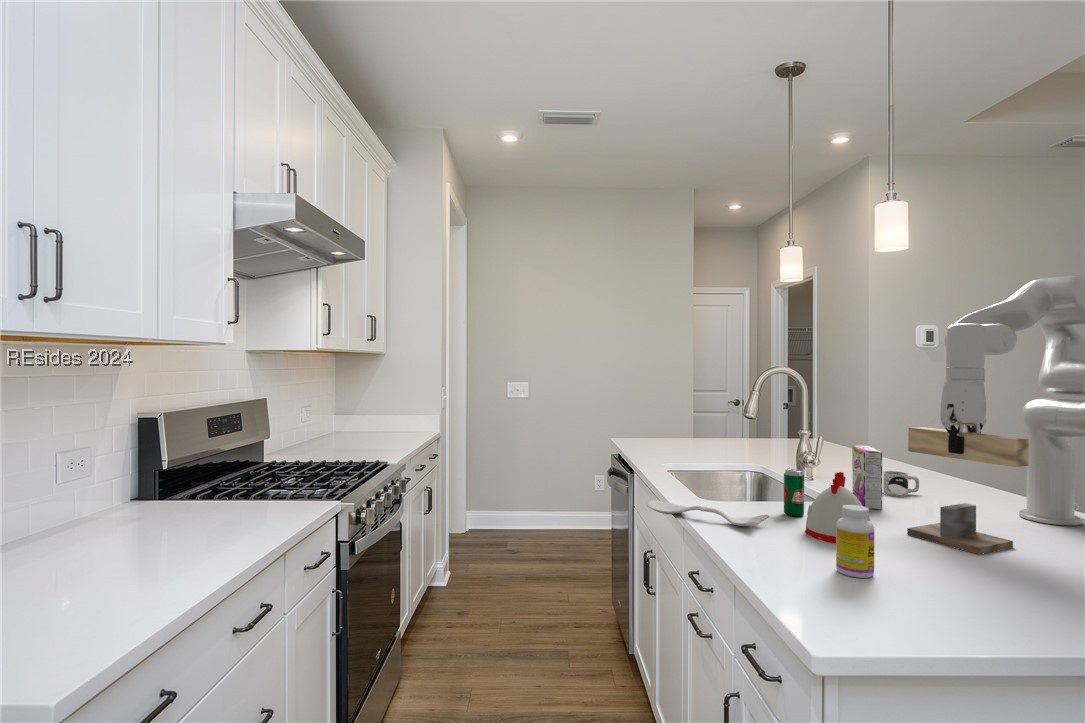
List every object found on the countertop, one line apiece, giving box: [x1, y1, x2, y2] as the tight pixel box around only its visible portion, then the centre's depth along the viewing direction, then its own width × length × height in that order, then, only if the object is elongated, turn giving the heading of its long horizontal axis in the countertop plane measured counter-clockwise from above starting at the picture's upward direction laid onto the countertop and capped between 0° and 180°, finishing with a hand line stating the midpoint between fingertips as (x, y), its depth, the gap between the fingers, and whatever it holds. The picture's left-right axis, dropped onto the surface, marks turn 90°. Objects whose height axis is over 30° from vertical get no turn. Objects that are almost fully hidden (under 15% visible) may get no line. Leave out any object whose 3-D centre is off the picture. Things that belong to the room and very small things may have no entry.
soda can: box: [783, 468, 805, 518], centre depth 159 cm, size 5×5×12 cm
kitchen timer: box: [805, 471, 871, 544], centre depth 141 cm, size 14×14×15 cm
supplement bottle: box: [835, 505, 875, 579], centre depth 116 cm, size 7×7×13 cm
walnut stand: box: [906, 502, 1014, 555], centre depth 137 cm, size 12×16×8 cm
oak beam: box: [907, 426, 1029, 468], centre depth 140 cm, size 5×24×6 cm, turn 23°
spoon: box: [645, 499, 770, 527], centre depth 156 cm, size 9×32×4 cm, turn 50°
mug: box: [882, 470, 920, 497], centre depth 184 cm, size 10×7×7 cm
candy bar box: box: [851, 444, 883, 510], centre depth 170 cm, size 11×5×16 cm, turn 168°
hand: (963, 451), depth 140 cm, fingers closed on oak beam, 5 cm apart
